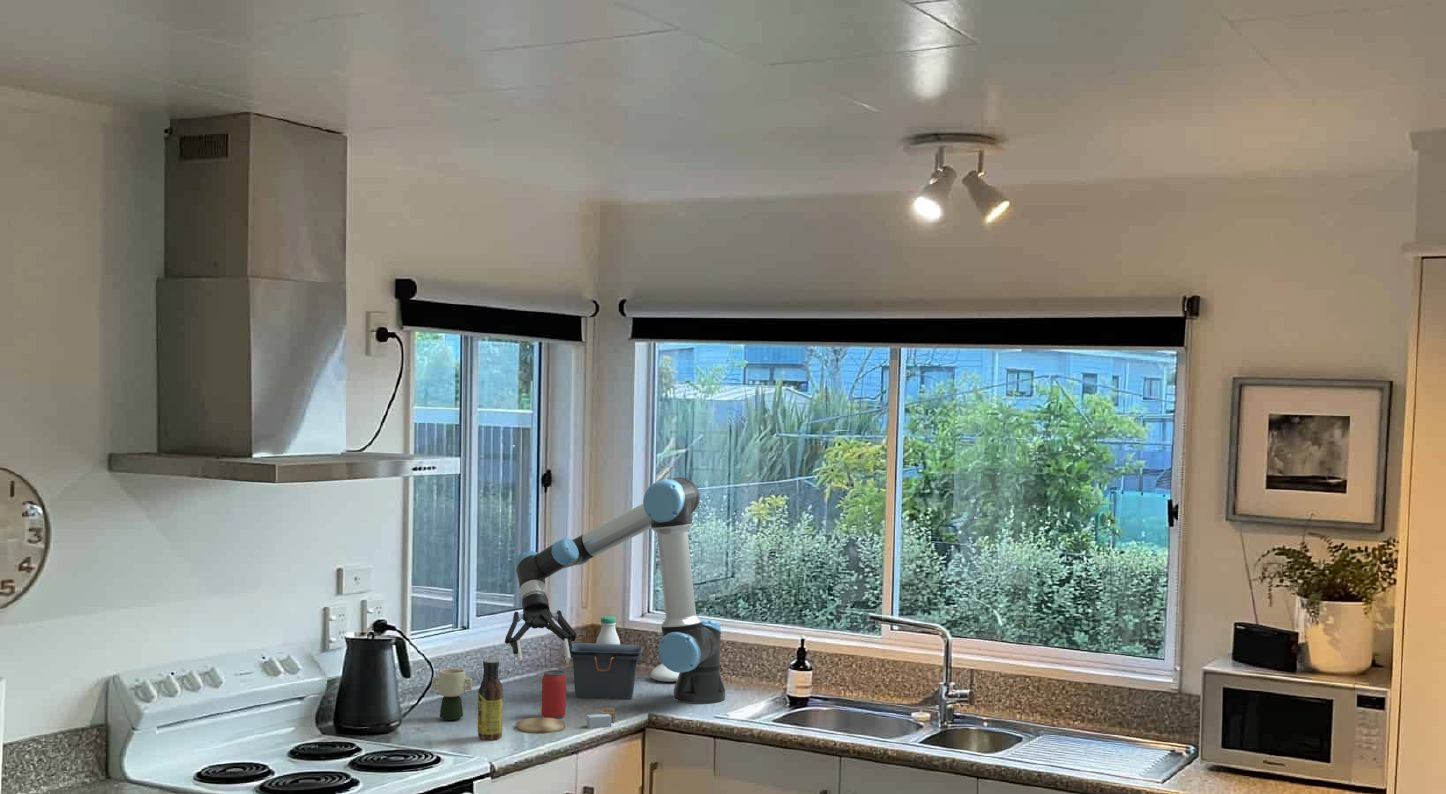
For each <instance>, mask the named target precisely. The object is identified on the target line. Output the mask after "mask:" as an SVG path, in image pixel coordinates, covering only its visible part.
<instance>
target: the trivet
mask: <svg viewBox="0 0 1446 794" xmlns="http://www.w3.org/2000/svg"><path fill="white" fill-rule="evenodd" d="M566 724H567V723H566V721H564V720H563V719H561V718H557V719H555V718H545V717H529V718H525V719H521V720H520V719H519V720H518V721H516V722H515V728H516V730H518V731H519V732H523V733H529V734H530V733H531V734H548V733H557V732H560V731H563V730H565V729H566V727H567V726H566Z"/></svg>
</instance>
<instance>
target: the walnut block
mask: <svg viewBox="0 0 1446 794" xmlns="http://www.w3.org/2000/svg"><path fill="white" fill-rule="evenodd" d="M601 714H610V715H611V716H612V722H611V723H613V724H614V722H615V718H616V708H615V707H603V710H602V713H601Z"/></svg>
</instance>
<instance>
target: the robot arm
mask: <svg viewBox="0 0 1446 794" xmlns="http://www.w3.org/2000/svg"><path fill="white" fill-rule="evenodd" d="M700 497H701V496H700V491H699V489H698V487H697V485H696V484H695V483H694V482H693V481H692V480H690V479H688V478H685V477H680V476H679V477H673V478H664V479H659V480H657V481H655V482H654V483H651V484H650V486H648V488H647V489H646V491H645V493H644V496H643V500H642V501H643V503H641V504H640V505H638V506H636V507H633V508H632V509H630V510H628V511H626V512H624V513H622V514H619V515H618V516H617V517H614V518H612V519H610V520H608V521H607V522H605V523H602V524H601V525H600V524H599V526H596V527H594V528H593V529H591V530H589V531H587V532H585V533H583V534H581V535H579V536H577V537H575V538H573V539H570V538H569V537H564V538H562V539H560V540H558V541H555V542H554V543H552V544H551V545H550V546H548V547H546V548H544V549H543V550H542V551H540V552H537V551H533V550H528V551H527V552H525V551H523V552H522V553H520V554H519V555H518V556H517V558H516V559H515V563H516V564H515V565H516V569H515V570H516V576H517V579H518V587H519V592H520V600H521V606H522V613H519V612H518V611H514V613H513V615H512V623H511V624H510V627H509V629H508V631H507V634H506V636H505V640H504V644H506V645H507V644H509V645H510V647H511V649H512V653H513V654H514V655H516V658H517V665H518V666H519V667H520V666H522V664H523V661H524V659H523V654H522V646H521V638H522V637H523V636H524V635H525V633H526V632H527V631H529V630H530V628H532V629H534V630H535V629H538V628H539V629H547V630H548V631H551V633H553V634H554V635H556V636H557V637H558V638H559V639H561V641H563V643H562V645H563V646H562V647H563V652H564V658H565V663H566V664H570V661H571V659H572V658H571V656H570V652H571V650H572V644H573V643H572V642H575V641H576V638H577V633H576V632H575V630H574V629H573V627H571V625H570V623H568V621H567V620H566V619H565V617H564V616H563V613H562V611H561V610H558V609H557V610H556V611H557V612H551V610H550V603H549V600H548V599H549V598H548V594H547V593H548V591H547V587H546V579H548V578H549V577H551V576H553V575H554V574H555V573H557V572H559V571H561V570H563V569H566V568H570V567H573V566H579V565H583V564H585V563H588V562H589V561H590V560H591V559H593V558H594V557H596V556H598V555H601V554H603V553H604V552H606V551H608V550H610V549H612V548H614V547H616V546H618V545H620V544H622V543H624V542H626V541H628V540H631V539H632V538H635V537H636V536H638V535H640V534H642V533H644V532H647V531H648V530H650V529H651V530H653V531H654V533H656V535H657V542H658V543H657V544H658V551H659V552H658V553H659V562H660V571H661V581H662V592H663V601H664V603H663V604H664V611H665V612H664V613H665V620H664V621H662V623H661V625H660V626H661V637H662V638H661V640H660V642H659V644H658V648H657V651H658V653H657V654H658V657H659V660H660V662H661V663H663V665H664V666H665V667H667V668H668V669H669V670H671V671H673V672H677V673H679V676H678V679H677V681H675V682H676V683H675V685H674V688H673V696H672V697H673V699H674V700H676V701H679V702H683V703H692V704H712V703H713V704H714V703H719V702H722V701H725V699H726V688H725V685H724V682H723V678H722V674H721V670H720V669H721V638H722V637H721V634H722V630H721V629H722V628H721V622H720V621H718V620H715V619H707V618H706V619H705V618H700V617H699V616H697V611H696V603H695V602H696V601H695V600H696V599H695V592H694V591H695V590H694V579H693V573H692V562H691V553H690V542H689V534H688V533H689V532H688V531H689V529H690V528H691V527H692V525H693V518H692V514H693V513H694V512H695V511H696V510H697V508H698V507H699V504H700V501H701V499H700ZM553 619H554V620H553ZM521 620H523V622H524V624H523V625H522V626H521V627H520V629H519V630H518V631H517V632H516V633H515V635H514V636H513V634H514V632H515V629H516V627H517V625H518V623H519V622H521ZM556 622H557V623H556ZM512 636H513V637H512Z"/></svg>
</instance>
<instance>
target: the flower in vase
mask: <svg viewBox="0 0 1446 794" xmlns="http://www.w3.org/2000/svg"><path fill="white" fill-rule="evenodd" d="M650 676H651V678H652V679H653V680H655V681H659V682H667V683H668V682H669V683H670V682H671V683H672V682H677V679H678V676H679V673H677V672H673V671H671V670H669V669H668V668H667V667H665V666H664V665H663V663H662V662H661V663H660V664H659V665H658V666H656V667H655V668H654V669H653V670H652V671H651V673H650Z"/></svg>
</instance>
